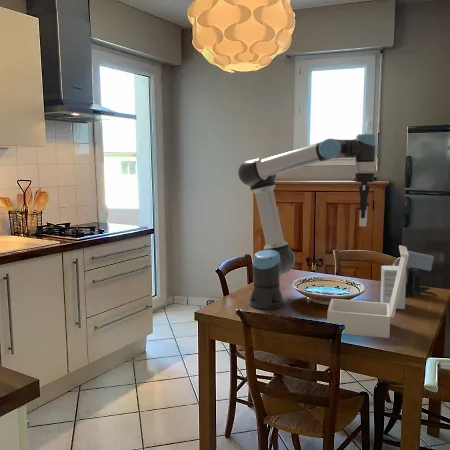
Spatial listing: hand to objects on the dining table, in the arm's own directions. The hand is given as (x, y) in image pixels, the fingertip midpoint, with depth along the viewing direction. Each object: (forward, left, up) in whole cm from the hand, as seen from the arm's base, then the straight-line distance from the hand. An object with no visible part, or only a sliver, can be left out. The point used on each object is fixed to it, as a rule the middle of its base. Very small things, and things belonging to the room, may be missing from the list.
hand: (363, 223), depth 196 cm
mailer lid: (+12, -23, -17) cm, 31 cm away
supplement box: (+13, +8, -37) cm, 40 cm away
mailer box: (0, -23, -37) cm, 43 cm away
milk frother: (+22, +30, -37) cm, 52 cm away
